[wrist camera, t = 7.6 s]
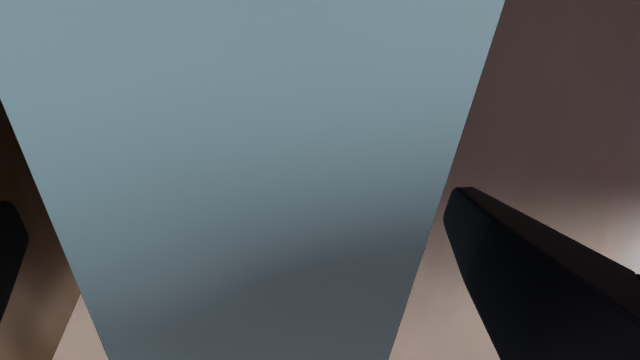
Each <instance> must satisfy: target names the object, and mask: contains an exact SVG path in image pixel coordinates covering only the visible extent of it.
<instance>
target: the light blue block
mask: <svg viewBox="0 0 640 360" xmlns="http://www.w3.org/2000/svg"><path fill="white" fill-rule="evenodd" d="M504 2H505V0H0V99H1V101H2V104H3V106H4V109H5V111H6V113H7V116H8V118H9V121H10V123H11V126H12V128H13V130H14V133H15V135H16V138H17V140H18V142H19V145H20V147H21V150H22V152H23V154H24V157H25V159H26V162H27V164H28V166H29V169H30V171H31V174H32V176H33V179H34V181H35V183H36V186H37V188H38V191H39V193H40V195H41V198H42V200H43V203H44V205H45V207H46V210H47V212H48V215H49V217H50V219H51V222H52V224H53V227H54V229H55V232H56V234H57V236H58V239H59V241H60V244H61V246H62V248H63V251H64V253H65V256H66V258H67V260H68V263H69V265H70V268H71V270H72V272H73V275H74V277H75V280H76V282H77V284H78V287H79V289H80V292H81V294H82V297H83V299H84V301H85V304H86V306H87V309H88V311H89V313H90V316H91V318H92V321H93V323H94V325H95V328H96V330H97V333H98V335H99V337H100V340H101V342H102V345H103V347H104V350H105V352H106V354H107V357H108V359H109V360H388V359H389V356H390V353H391V350H392V347H393V344H394V341H395V338H396V335H397V332H398V329H399V326H400V323H401V319H402V316H403V313H404V310H405V307H406V304H407V301H408V298H409V295H410V292H411V289H412V286H413V283H414V279H415V276H416V273H417V270H418V267H419V264H420V261H421V258H422V255H423V252H424V249H425V246H426V243H427V239H428V236H429V233H430V230H431V227H432V224H433V221H434V218H435V215H436V212H437V209H438V206H439V203H440V199H441V196H442V193H443V190H444V187H445V184H446V181H447V178H448V175H449V172H450V169H451V166H452V163H453V159H454V156H455V153H456V150H457V147H458V144H459V141H460V138H461V135H462V132H463V129H464V126H465V123H466V119H467V116H468V113H469V110H470V107H471V104H472V101H473V98H474V95H475V92H476V89H477V86H478V82H479V79H480V76H481V73H482V70H483V67H484V64H485V61H486V58H487V55H488V52H489V49H490V46H491V42H492V39H493V36H494V33H495V30H496V27H497V24H498V21H499V18H500V15H501V12H502V9H503V6H504Z"/></svg>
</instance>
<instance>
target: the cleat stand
mask: <svg viewBox="0 0 640 360" xmlns="http://www.w3.org/2000/svg"><path fill="white" fill-rule="evenodd" d="M0 200H8V201H11V202H12V203H14V204H15V206H16V208H17V210H18V212H19V214H20V216H21V218H22V220H23V222H24V225H25V227H26V229H27V231H28V234H29V244H28V248H27V250H26V253H25V256H24V259H23V262H22V265H21V268H20V271H19V274H18V277H17V280H16V282H15V285H14V288H13V291H12V294H11V297H10V300H9V303H8V306H7V308H6V311H5V313H4V316H3V318H2V321H1V323H0V360H52V358H53V356H54V354H55V351H56V349H57V347H58V345H59V342H60V340H61V338H62V335H63V333H64V331H65V328H66V326H67V324H68V321H69V319H70V317H71V314H72V312H73V310H74V308H75V305H76V303H77V301H78V298H79V296H80V294H81V292H80V289H79V287H78V284H77V282H76V280H75V277H74V275H73V272H72V270H71V268H70V265H69V263H68V260H67V258H66V256H65V253H64V251H63V248H62V246H61V244H60V241H59V239H58V236H57V234H56V232H55V229H54V227H53V224H52V222H51V219H50V217H49V215H48V212H47V210H46V207H45V205H44V203H43V200H42V198H41V195H40V193H39V191H38V188H37V186H36V183H35V181H34V179H33V176H32V174H31V171H30V169H29V166H28V164H27V162H26V159H25V157H24V154H23V152H22V150H21V147H20V145H19V142H18V140H17V138H16V135H15V133H14V130H13V128H12V126H11V123H10V121H9V118H8V116H7V113H6V111H5V109H4V106H3V104H2V101H1V99H0Z"/></svg>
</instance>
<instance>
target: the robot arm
mask: <svg viewBox="0 0 640 360" xmlns="http://www.w3.org/2000/svg"><path fill="white" fill-rule="evenodd" d="M443 222H444V226H445V229H446V232H447V235H448V238H449V241H450V244H451V247H452V249H453V252H454V255H455V258H456V261H457V264H458V267H459V270H460V273H461V275H462V278H463V280H464V283H465V285H466V287H467V290H468V292H469V294H470V296H471V298H472V300H473V302H474V304H475V307H476V309H477V311H478V313H479V315H480V317H481V319H482V321H483V324H484V326H485V328H486V330H487V332H488V334H489V336H490V338H491V341H492V343H493V345H494V347H495V349H496V351H497V353H498V355H499V357H500V360H640V274H635V272H634V271H632V270H630V269H628V268H626V267H624V266H622V265H620V264H619V263H617V262H615V261H613V260H611V259H609V258H607V257H605V256H603V255H601V254H600V253H598V252H596V251H594V250H592V249H590V248H588V247H586V246H584V245H582V244H581V243H579V242H577V241H575V240H573V239H571V238H569V237H567V236H565V235H563V234H561V233H560V232H558V231H556V230H554V229H552V228H550V227H548V226H546V225H544V224H542V223H541V222H539V221H537V220H535V219H533V218H531V217H529V216H527V215H525V214H523V213H522V212H520V211H518V210H516V209H514V208H512V207H510V206H508V205H506V204H504V203H503V202H501V201H499V200H497V199H495V198H493V197H491V196H489V195H487V194H485V193H483V192H482V191H480V190H478V189H476V188H474V187H456V188H454V189H453V190H452V192H451V195H450V198H449V201H448V203H447V206H446V209H445V212H444V217H443ZM28 244H29V234H28V231H27V229H26V227H25V225H24V222H23V220H22V218H21V216H20V214H19V212H18V210H17V208H16V206H15V204H14V203H12V202H11V201H8V200H0V323H1V321H2V318H3V316H4V313H5V311H6V308H7V306H8V303H9V300H10V297H11V294H12V291H13V288H14V285H15V282H16V280H17V277H18V274H19V271H20V268H21V265H22V262H23V259H24V256H25V253H26V250H27V248H28Z"/></svg>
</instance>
